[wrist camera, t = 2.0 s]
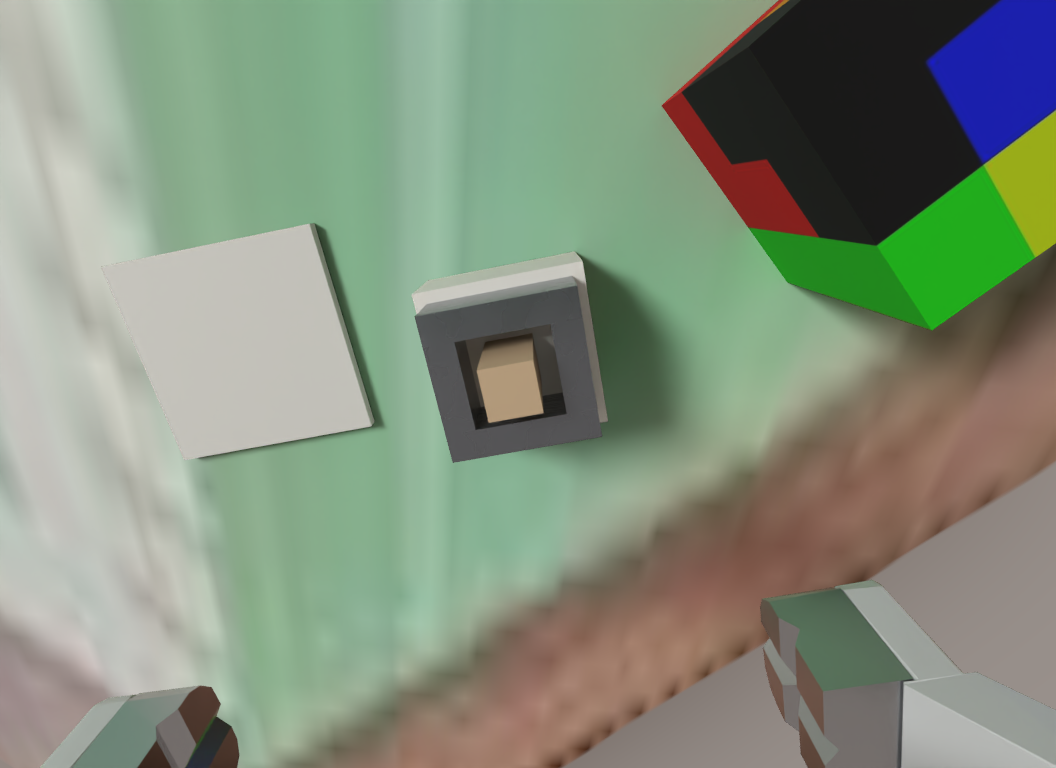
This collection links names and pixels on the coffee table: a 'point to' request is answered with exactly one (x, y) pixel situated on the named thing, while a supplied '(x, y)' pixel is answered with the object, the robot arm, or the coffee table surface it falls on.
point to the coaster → (243, 341)
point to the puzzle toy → (886, 145)
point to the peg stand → (517, 338)
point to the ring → (502, 313)
